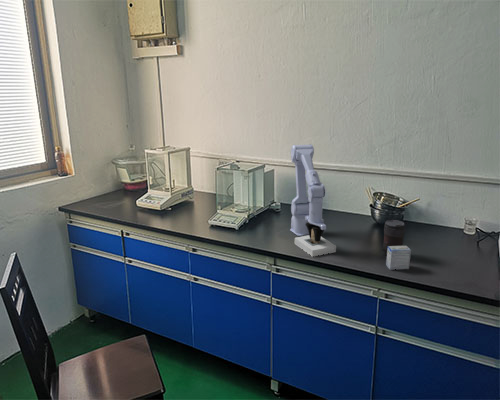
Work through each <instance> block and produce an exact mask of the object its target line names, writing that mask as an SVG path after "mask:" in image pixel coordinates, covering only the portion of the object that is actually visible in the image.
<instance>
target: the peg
mask: <svg viewBox="0 0 500 400" xmlns="http://www.w3.org/2000/svg"><path fill="white" fill-rule="evenodd" d="M311 243H312V244H317V243H320V241H319V242H315V237H314V231H313V229H312V232H311Z"/></svg>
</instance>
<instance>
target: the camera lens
mask: <svg viewBox="0 0 500 400" xmlns="http://www.w3.org/2000/svg"><path fill="white" fill-rule="evenodd" d="M405 229H406V228H405V223H404V221H401V220H398V219H388V220H386V221H385V222H384V227H383V234H384V235H383V243H382V249H383V250H382V251H383V255H384V256H385V257H386V258H387V249H388V246H404V236H405Z"/></svg>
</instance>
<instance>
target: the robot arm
mask: <svg viewBox="0 0 500 400" xmlns="http://www.w3.org/2000/svg"><path fill="white" fill-rule="evenodd" d="M314 153H315V149H314V146H313V144H311V143H309V144H293V145H292V146H291V148H290V157H291V158H290V159H291V163H294V166H295V167H294V169H295V170H294V171H295V183H296V184H295V187H296V188H295V189H296V196H295V197H294V198H293V199H292V201H291V206H290V211H291V215H292V216H291V220H290V222H291V223H290V229H289V231H290V232H292V233H293V234H295V235H296V236H297V237H302V236H307V235H309V236H310V238H311V232H312V229H313V231H314V237H315V242H319V241H320V239H321V237H323V233H324V232H325V230H327V225H326V224H325V223H324V222H325V219H323V206H324V205H323V201H324V197H325V196H326V188H325V185H324V184H323V182H321V179H320V176H319V173H318V171H316V170H315V168H314V163H313V157H314ZM307 195H308V196H307Z"/></svg>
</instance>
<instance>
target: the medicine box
mask: <svg viewBox="0 0 500 400" xmlns="http://www.w3.org/2000/svg"><path fill="white" fill-rule="evenodd" d="M411 253H412V250H411V248H409V247H408V246H407V245H403V246H388V249H387V257H386V260H385V265H386V267H387V268H388V269H389V270H390V271H392V270H394V271H395V269H396V270H409V269H410V260H411Z"/></svg>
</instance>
